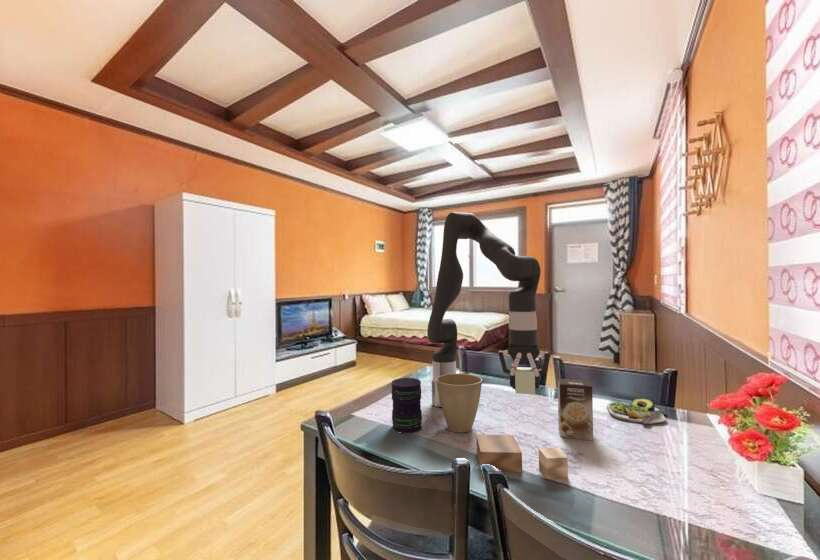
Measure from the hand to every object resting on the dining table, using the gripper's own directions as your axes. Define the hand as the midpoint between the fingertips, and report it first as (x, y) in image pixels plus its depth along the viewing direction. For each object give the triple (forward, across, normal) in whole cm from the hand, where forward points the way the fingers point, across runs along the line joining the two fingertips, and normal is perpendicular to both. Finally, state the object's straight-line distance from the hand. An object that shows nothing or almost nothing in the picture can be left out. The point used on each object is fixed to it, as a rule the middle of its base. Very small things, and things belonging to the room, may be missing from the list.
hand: (524, 388), depth 94 cm
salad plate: (+18, +40, +35) cm, 57 cm away
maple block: (+17, +5, -10) cm, 21 cm away
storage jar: (+18, -36, +10) cm, 42 cm away
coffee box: (+18, +16, +14) cm, 27 cm away
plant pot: (+18, -19, +13) cm, 29 cm away
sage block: (+1, 0, 0) cm, 1 cm away
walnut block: (+18, -8, -7) cm, 20 cm away
